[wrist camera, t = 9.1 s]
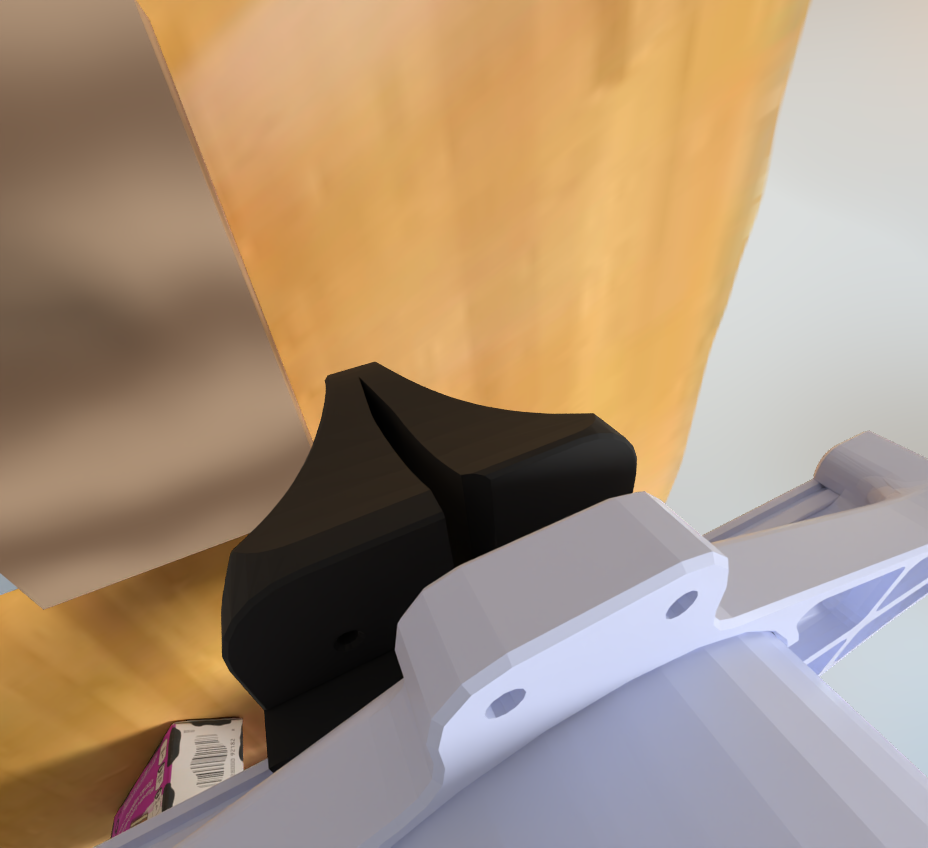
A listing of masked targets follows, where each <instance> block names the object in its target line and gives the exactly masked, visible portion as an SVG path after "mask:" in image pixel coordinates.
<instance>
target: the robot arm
mask: <svg viewBox="0 0 928 848" xmlns="http://www.w3.org/2000/svg"><path fill="white" fill-rule="evenodd" d="M325 383H326V395H325V403H324V408H323V412H322V417H321V421H320V424H319V427H318V430H317V434H316V437H315V440H314V442H313V445H312V447H311V450H310V452H309V454H308V456H307V458H306V460H305V462H304V464H303V466H302V468H301V469H300V471H299V473H298V475H297V476H296V478H295V480H294V482H293V483H292V485H291V486H290V488H289V489H288V491H287V492H286V493H285V495H284V496H283V497H282V499H281V500H280V501H279V502H278V503H277V505H276V506H275V507H274V508H273V509H272V511H271V512H270V513H269V514H268V515H267V516H266V517H265V519H264V520H263V521H262V522H261V523H260V524H259V525H258V526H257V527H256V528H255V529H254V530H253V531H252V532H251V533H250V534H249V535H248V536H247V537H246V538H245V539H244V540H243V541H242V542H241V543H240V544H239V545H238V546H236V547H235V548H234V549H233V550H232V552H231V554H230V558H229V563H228V568H227V573H226V578H225V585H224V591H223V597H222V608H221V626H222V657H223V659H224V661H225V663H226V665H227V667H228V669H229V671H230V672H231V673H232V674H233V676H234V677H235V678H236V679H237V680H238V681H239V682H240V683H241V685H242V686H243V687H244V688H245V689H246V690H247V691H248V693H249V694H250V695H251V696H252V697H253V698H254V699H255V700H256V702H257V703H258V704H259V705H260V706H261V707H262V708H263V710H264V715H265V728H266V741H267V755H268V758H267V759H265V760H263V761H261V762H259V763H257V764H255V765H253V766H251V767H249V768H247V769H245V770H243V771H242V772H240V773H238V774H236V775H234V776H232V777H230V778H228V779H226V780H224V781H222V782H220V783H218V784H216V785H214V786H212V787H210V788H208V789H206V790H204V791H203V792H201V793H199V794H197V795H195V796H193V797H191V798H189V799H187V800H185V801H183V802H181V803H179V804H177V805H175V806H173V807H171V808H169V809H167V810H165V811H163V812H162V813H160V814H158V815H156V816H154V817H152V818H150V819H148V820H146V821H144V822H142V823H140V824H138V825H136V826H134V827H132V828H130V829H128V830H126V831H124V832H123V833H121V834H119V835H117V836H115V837H113V838H111V839H109V840H107V841H105V842H103V843H101V844H99V845H97V846H95V847H93V848H928V777H927V776H926V775H924V774H923V773H922V772H921V771H920V770H919V769H918V768H917V767H916V766H915V765H914V764H913V763H912V762H911V761H909V760H908V759H907V758H906V757H905V756H904V755H903V754H902V753H901V752H900V751H899V750H898V749H896V748H895V747H894V746H893V745H892V744H891V743H890V742H889V741H888V740H887V739H886V738H885V737H884V736H883V735H881V734H880V733H879V732H878V731H877V730H876V729H875V728H874V727H873V726H872V725H871V724H870V723H869V722H868V721H866V720H865V719H864V718H863V717H862V716H861V715H860V714H859V713H858V712H857V711H856V710H855V709H854V708H852V707H851V706H850V705H849V704H848V703H847V702H846V701H845V700H844V699H843V698H842V697H841V696H840V695H838V694H837V693H836V692H835V691H834V690H833V689H832V688H831V687H830V686H829V685H828V684H827V683H825V681H823V680H822V679H821V678H820V676H821V675H822V674H823V673H824V672H826V671H827V670H829V669H830V668H831V667H832V666H834V665H835V664H836V663H837V662H839V661H840V660H841V659H843V658H844V657H845V656H846V655H848V654H849V653H850V652H851V651H853V650H854V649H855V648H857V647H858V646H859V645H860V644H862V643H863V642H864V641H866V640H867V639H868V638H869V637H871V636H872V635H874V634H875V633H876V632H877V631H879V630H880V629H881V628H883V627H884V626H885V625H887V624H888V623H889V622H891V621H892V620H893V619H895V618H896V617H897V616H899V615H900V614H902V613H903V612H904V611H906V610H907V609H908V608H910V607H911V606H912V605H914V604H915V603H917V602H918V601H919V600H921V599H922V598H924V597H925V596H926V595H928V458H925V457H923V456H921V455H919V454H917V453H915V452H913V451H911V450H909V449H906V448H905V447H903V446H901V445H898V444H896V443H894V442H892V441H890V440H888V439H886V438H884V437H882V436H880V435H877V434H875V433H873V432H871V431H865V432H862V433H860V434H858V435H856V436H854V437H852V438H850V439H848V440H846V441H844V442H842V443H840V444H838V445H836V446H834V447H833V448H831V449H830V450H829V451H828V452H827V453H826V454H825V455H824V456H823V457H822V459H821V460H820V462H819V464H818V465H817V467H816V470H815V473H814V478H813V479H811V480H809V481H807V482H806V483H804V484H802V485H800V486H798V487H796V488H794V489H792V490H790V491H788V492H786V493H784V494H782V495H780V496H778V497H776V498H774V499H772V500H770V501H768V502H767V503H765V504H763V505H761V506H759V507H757V508H755V509H753V510H751V511H749V512H747V513H745V514H743V515H741V516H739V517H737V518H735V519H733V520H731V521H730V522H727V523H726V524H724V525H722V526H720V527H718V528H716V529H714V530H712V531H710V532H708V533H706V534H704V535H701V534H700V533H698V532H697V531H696V530H695V529H694V528H693V527H691V526H690V525H689V524H688V523H687V522H686V521H684V520H683V519H682V518H681V517H680V516H679V515H678V514H676V513H675V512H674V511H673V510H672V509H671V508H669V507H668V506H667V505H666V504H665V503H664V502H663V501H661V500H660V499H658V498H656V497H654V496H652V495H650V494H648V493H646V492H645V491H643V492H635V493H633V488H634V483H635V477H636V467H637V456H636V453H635V450H634V447H633V446H632V444H631V443H630V442H629V441H628V440H627V439H626V438H625V437H624V436H622V435H621V434H620V433H618V432H617V431H616V430H615V429H613V428H612V427H611V426H609V425H608V424H607V423H606V422H604V421H603V420H602V419H600V418H599V417H598V416H596V415H595V414H593V413H585V414H545V413H530V412H519V411H510V410H504V409H498V408H492V407H486V406H482V405H477V404H473V403H470V402H466V401H462V400H459V399H455V398H452V397H449V396H446V395H443V394H441V393H438V392H436V391H433V390H430V389H428V388H426V387H423V386H421V385H419V384H417V383H415V382H413V381H410V380H408V379H406V378H404V377H402V376H401V375H399V374H397V373H395V372H393V371H391V370H389V369H388V368H386V367H384V366H382V365H380V364H379V363H377V362H372V363H369V364H365V365H362V366H358V367H355V368H351V369H348V370H345V371H341V372H338V373H334V374H331V375H328V376H327V378H326V379H325Z"/></svg>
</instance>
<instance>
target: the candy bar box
mask: <svg viewBox="0 0 928 848" xmlns="http://www.w3.org/2000/svg"><path fill="white" fill-rule="evenodd" d="M242 725H243V719H242V718H228V719H212V720H189V721H182V722H175V723H173V724H172V725H171V727H170V728H169V730H168V731H167V733H166V735H165V737H164V738H163V740H162V741H161V743H160V745H159V746H158V748H157V750H156V751H155V753H154V755H153V756H152V758H151V759H150V761H149V763H148V764H147V766H146V767H145V769H144V771H143V772H142V774H141V775H140V777H139V779H138V780H137V782H136V783H135V785H134V787H133V788H132V790H131V791H130V793H129V795H128V796H127V798H126V800H125V801H124V803H123V804H122V806H121V807H120V809H119V811H118V812H117V814H116V815H115V817H114V822H113V828H112V833H111V838H113V837H115V836H117V835H119V834H121V833H123V832H124V831H126V830H128V829H130V828H132V827H134V826H136V825H138V824H140V823H142V822H144V821H146V820H148V819H150V818H152V817H154V816H156V815H158V814H160V813H162V812H163V811H165V810H167V809H169V808H171V807H173V806H175V805H177V804H179V803H181V802H183V801H185V800H187V799H189V798H191V797H193V796H195V795H197V794H199V793H201V792H203V791H204V790H206V789H208V788H210V787H212V786H214V785H216V784H218V783H220V782H222V781H224V780H226V779H228V778H230V777H232V776H234V775H236V774H238V773H240V772H242V771H243V732H242Z"/></svg>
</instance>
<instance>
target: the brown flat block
mask: <svg viewBox="0 0 928 848" xmlns="http://www.w3.org/2000/svg"><path fill="white" fill-rule="evenodd" d="M312 445H313V441H312V438H311V436H310V433H309V430H308V428H307V425H306V423H305V420H304V418H303V415H302V412H301V410H300V407H299V405H298V402H297V399H296V397H295V394H294V392H293V389H292V387H291V384H290V381H289V379H288V376H287V374H286V371H285V369H284V366H283V363H282V361H281V358H280V356H279V353H278V350H277V348H276V345H275V343H274V340H273V338H272V335H271V332H270V330H269V327H268V325H267V322H266V319H265V317H264V314H263V312H262V309H261V307H260V304H259V301H258V299H257V296H256V294H255V291H254V289H253V286H252V283H251V281H250V278H249V276H248V273H247V270H246V268H245V265H244V263H243V260H242V258H241V255H240V252H239V250H238V247H237V245H236V242H235V239H234V237H233V234H232V232H231V229H230V227H229V224H228V221H227V219H226V216H225V214H224V211H223V209H222V206H221V203H220V201H219V198H218V196H217V193H216V190H215V188H214V185H213V183H212V180H211V178H210V175H209V172H208V170H207V167H206V165H205V162H204V159H203V157H202V154H201V152H200V149H199V147H198V144H197V141H196V139H195V136H194V134H193V131H192V129H191V126H190V123H189V121H188V118H187V116H186V113H185V110H184V108H183V105H182V103H181V100H180V98H179V95H178V92H177V90H176V87H175V85H174V82H173V79H172V77H171V74H170V72H169V69H168V67H167V64H166V61H165V59H164V56H163V54H162V51H161V49H160V46H159V43H158V41H157V38H156V36H155V33H154V30H153V28H152V25H151V23H150V20H149V18H148V17H147V15H146V14H145V12H144V11H143V10H142V8H141V7H140V5H139V4H138V2H137V1H136V0H0V574H2V575H3V576H4V577H5V578H6V579H8V580H9V581H10V582H11V583H12V584H14V585H15V586H16V587H17V588H18V589H20V590H21V591H22V592H23V593H24V594H26V595H27V596H28V597H29V598H30V599H31V600H33V601H34V602H35V603H36V604H37V605H39V606H40V607H41V608H42V609H43V610H44V609H47V608H50V607H52V606H55V605H58V604H60V603H63V602H66V601H68V600H71V599H74V598H76V597H79V596H82V595H85V594H87V593H90V592H93V591H95V590H98V589H101V588H103V587H106V586H109V585H111V584H114V583H117V582H119V581H122V580H125V579H128V578H130V577H133V576H136V575H138V574H141V573H144V572H146V571H149V570H152V569H154V568H157V567H160V566H163V565H165V564H168V563H171V562H173V561H176V560H179V559H181V558H184V557H187V556H189V555H192V554H195V553H198V552H200V551H203V550H206V549H208V548H211V547H214V546H216V545H219V544H222V543H224V542H227V541H230V540H232V539H235V538H238V537H241V536H243V535H246V534H249V533H251V532H252V531H253V530H254V529H255V528H256V527H257V526H258V525H259V524H260V523H261V522H262V521H263V520H264V519H265V517H266V516H267V515H268V514H269V513H270V512H271V511H272V509H273V508H274V507H275V506H276V505H277V503H278V502H279V501H280V500H281V499H282V497H283V496H284V495H285V493H286V492H287V491H288V489H289V488H290V486H291V485H292V483H293V482H294V480H295V478H296V476H297V475H298V473H299V471H300V469H301V468H302V466H303V464H304V462H305V460H306V458H307V456H308V454H309V452H310V450H311V447H312Z"/></svg>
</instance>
